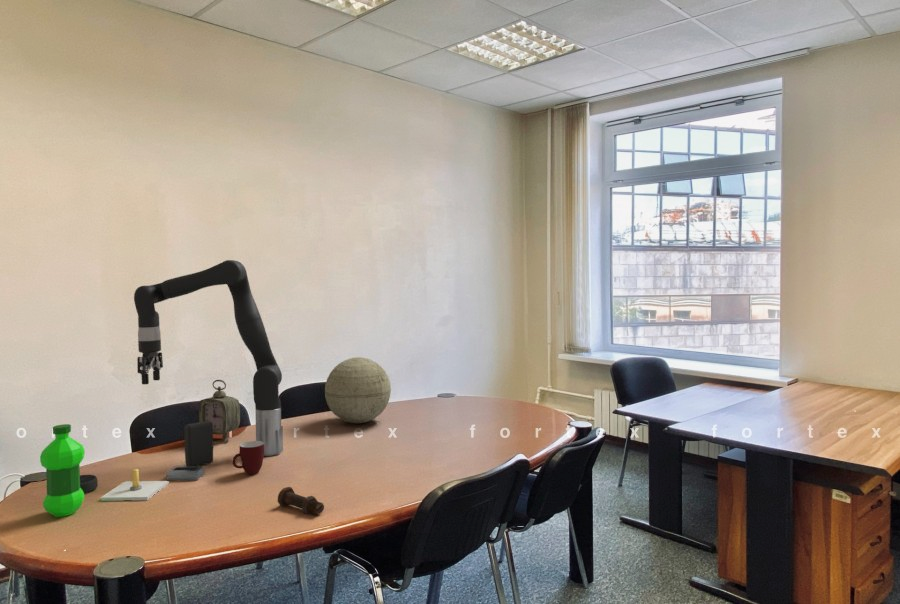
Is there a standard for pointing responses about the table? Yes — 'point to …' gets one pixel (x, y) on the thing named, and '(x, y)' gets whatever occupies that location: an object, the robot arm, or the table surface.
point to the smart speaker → (88, 483)
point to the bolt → (299, 501)
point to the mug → (250, 456)
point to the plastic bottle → (62, 473)
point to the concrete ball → (357, 390)
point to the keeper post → (134, 489)
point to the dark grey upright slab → (198, 443)
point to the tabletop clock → (220, 412)
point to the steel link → (185, 473)
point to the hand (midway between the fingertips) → (151, 382)
